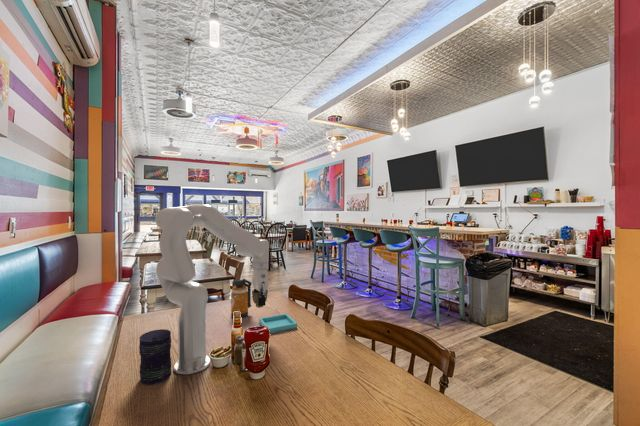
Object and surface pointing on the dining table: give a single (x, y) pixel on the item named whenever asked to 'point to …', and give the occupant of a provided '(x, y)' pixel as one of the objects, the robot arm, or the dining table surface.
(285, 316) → the dish
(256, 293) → the cup
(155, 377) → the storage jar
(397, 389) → the dining table surface
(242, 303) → the canister
